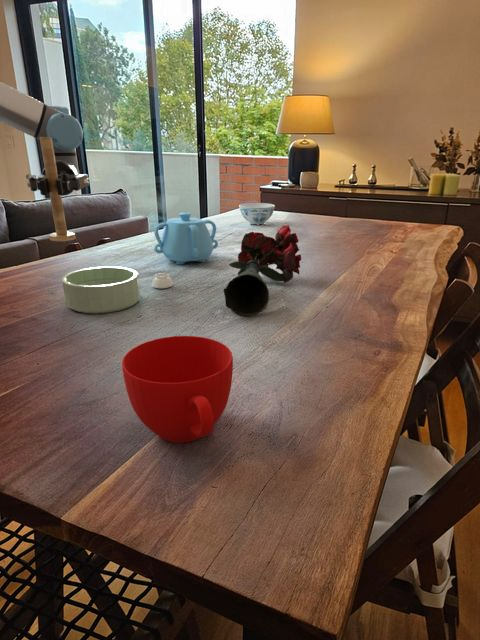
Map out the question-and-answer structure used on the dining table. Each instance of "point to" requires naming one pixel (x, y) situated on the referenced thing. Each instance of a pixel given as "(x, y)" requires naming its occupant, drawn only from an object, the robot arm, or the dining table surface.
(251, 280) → the red rose bouquet
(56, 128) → the robot arm
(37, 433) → the dining table surface
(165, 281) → the white jar
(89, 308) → the bowl
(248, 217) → the chinaware
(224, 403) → the ceramic cup
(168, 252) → the decorative pot
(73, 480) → the dining table surface
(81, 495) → the dining table surface
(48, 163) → the stirrer
